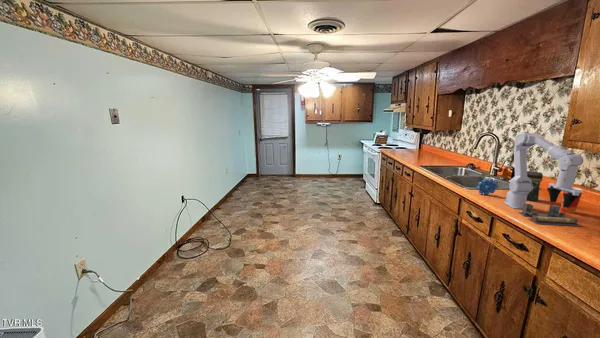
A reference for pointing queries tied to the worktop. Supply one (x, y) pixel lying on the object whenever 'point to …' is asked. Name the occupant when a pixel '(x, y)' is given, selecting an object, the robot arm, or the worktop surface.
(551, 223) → the mat
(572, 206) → the paper cup
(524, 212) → the hook standards
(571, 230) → the worktop surface
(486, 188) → the grapes
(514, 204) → the robot arm
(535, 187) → the coffee jar
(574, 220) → the tan wooden rod
